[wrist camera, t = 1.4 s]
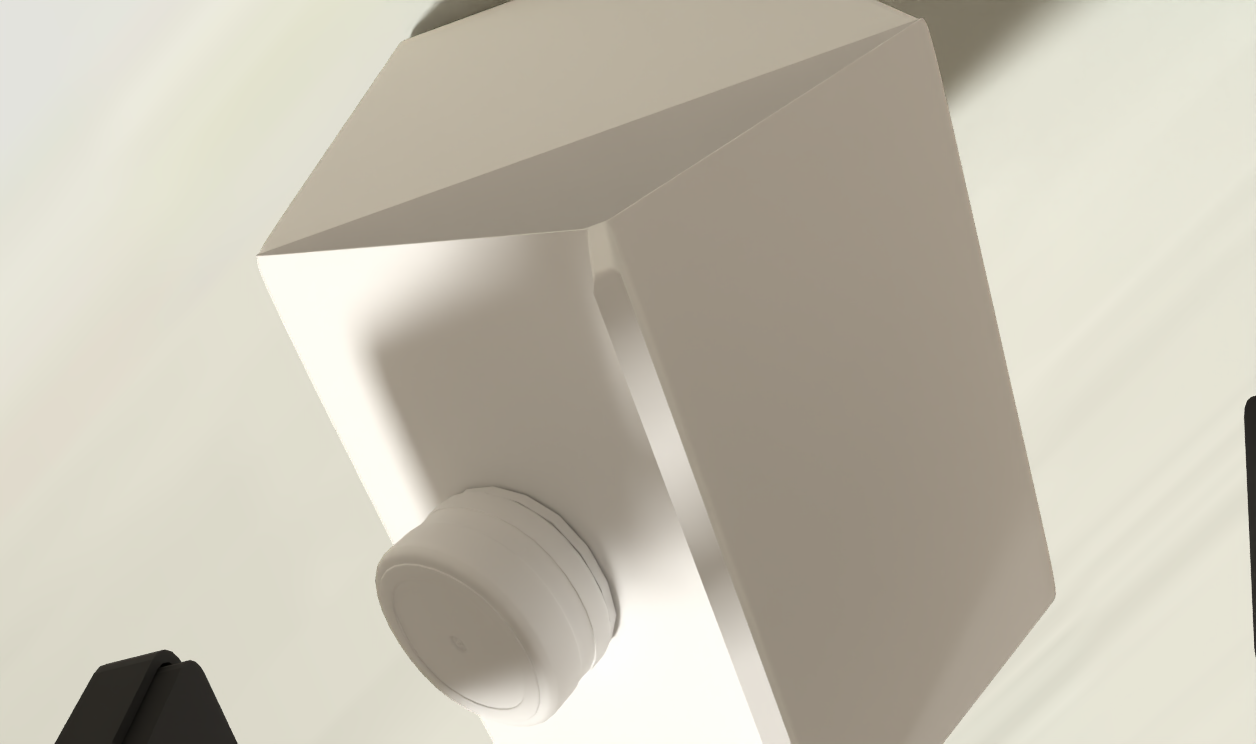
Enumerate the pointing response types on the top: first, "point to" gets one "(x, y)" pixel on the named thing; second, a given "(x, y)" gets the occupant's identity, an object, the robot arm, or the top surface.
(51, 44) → the top surface
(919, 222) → the milk carton
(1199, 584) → the top surface
